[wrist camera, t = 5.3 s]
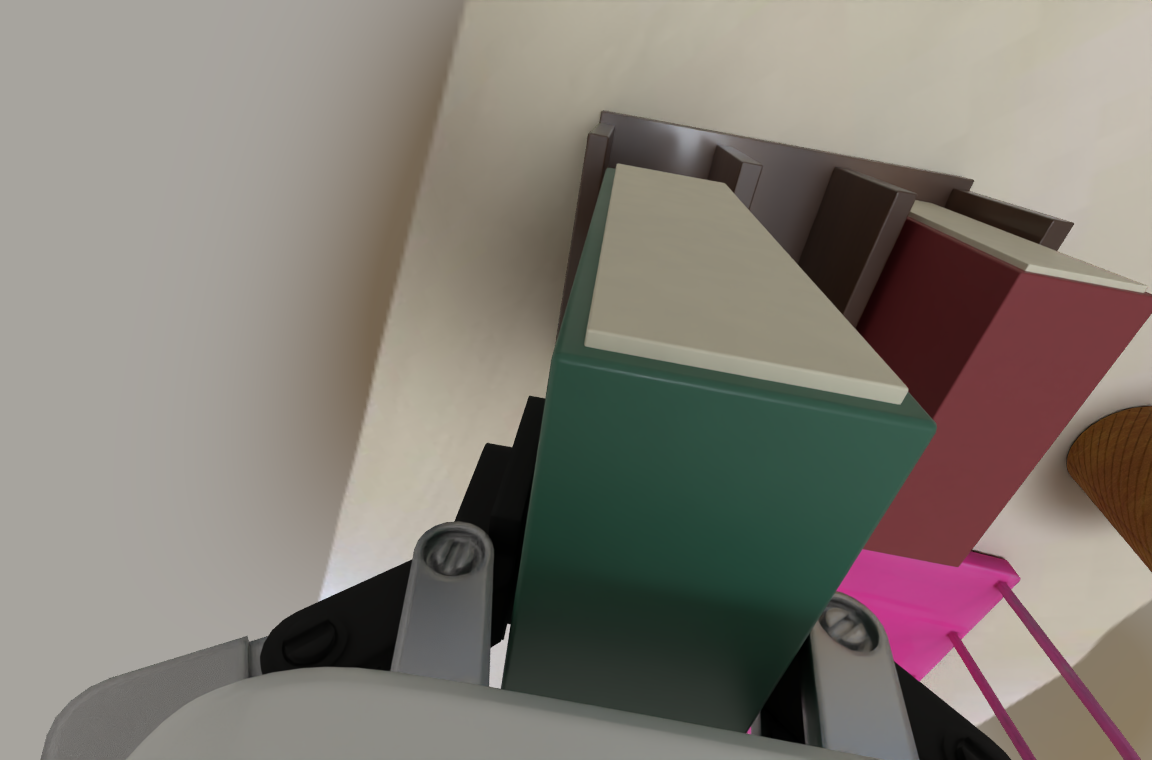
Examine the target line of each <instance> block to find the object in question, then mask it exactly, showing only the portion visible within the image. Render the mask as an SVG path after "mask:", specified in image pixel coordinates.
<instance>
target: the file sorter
mask: <svg viewBox="0 0 1152 760" xmlns="http://www.w3.org/2000/svg"><path fill="white" fill-rule="evenodd" d="M1019 581H1020V577H1019V576H1018V574H1017V573H1016V572H1015V570H1014V569H1013V568H1012V566H1011V565H1010V564H1009V562H1008V561H1007V560H1004V559H1000V558H996V557H992V556H988V555H983V554H979V553H976V552H971V551H970V553H969V554H968V555H967V557H966V558H965V559H964V561H963V562H962V563H961V565H960V566H959V567H953V566H947V565H942V564H937V563H932V562H927V561H921V560H916V559H911V558H906V557H901V556H895V555H890V554H885V553H880V552H874V551H869V550H864V549H862V551H861V552H860V554H859V555H858V557H857V559H856V560H855V562H854V563H853V565H852V567H851V568H850V570H849V571H848V573H847V575H846V576H845V578H844V579H843V581H842V582H841V584H840V586H839V587H838V589H837V590H836V591H838V592H842V593H844V594H847V595H849V596H851V597H853V598H855V599H856V600H858V601H859V602H861V603H862V604H864V605H865V606H866V607H867V608H868V609H869V610H870V611H871V612H873V613H874V614H875V615H876V617H877V618H878V620H879V621H880V622H881V624H882V625H883V627H884V629H885V632H886V634H887V636H888V640H889V644H890V648H891V651H892V655H893V659H894V661H895V662H896V663H897V664H898V665H900V666H901V667H902V668H903V669H905V670H906V671H907V672H908V673H909V674H911V675H912V676H913V677H914V678H916V679H917V680H918V681H920V680H921V679H922V678H923V677H924V676H925V675H926V674H927V673H928V672H929V671H930V670H931V669H932V668H933V667H934V666H935V665H936V664H937V663H938V662H939V661H940V660H941V659H942V658H943V657H944V656H945V655H946V654H947V653H948V652H949V651H950V650H951V649H952V648H953V647H955V649H956V650H957V652H958V654H959V655H960V657H961V658H962V660H963V662H964V663H965V665H966V667H967V668H968V670H969V672H970V673H971V675H972V677H973V679H974V680H975V682H976V684H977V685H978V687H979V688H980V690H981V691H982V693H983V695H984V696H985V698H986V700H987V701H988V703H989V705H990V706H991V708H992V709H993V711H994V713H995V715H996V716H997V718H998V720H999V721H1000V723H1001V725H1002V726H1003V728H1004V729H1005V731H1006V733H1007V734H1008V736H1009V737H1010V739H1011V740H1012V742H1013V744H1014V746H1015V747H1016V749H1017V751H1018V752H1019V754H1020V756H1021V757H1022V759H1023V760H1036V758H1035V757H1034V755H1033V754H1032V752H1031V750H1030V749H1029V747H1028V746H1027V744H1026V743H1025V741H1024V740H1023V738H1022V736H1021V734H1020V733H1019V731H1018V730H1017V728H1016V727H1015V725H1014V723H1013V722H1012V720H1011V719H1010V717H1009V716H1008V714H1007V713H1006V711H1005V709H1004V708H1003V706H1002V705H1001V703H1000V701H999V700H998V698H997V696H996V695H995V693H994V692H993V690H992V688H991V687H990V685H989V684H988V682H987V680H986V679H985V677H984V676H983V674H982V672H981V671H980V669H979V668H978V666H977V665H976V663H975V661H974V660H973V658H972V657H971V655H970V653H969V652H968V650H967V649H966V647H965V646H964V644H963V642H962V641H961V639H962V638H963V637H964V636H965V635H966V634H967V633H968V632H969V631H970V630H971V629H972V628H973V627H974V626H975V625H976V624H977V623H978V622H979V621H980V620H981V619H982V618H983V617H984V616H985V615H986V614H987V613H988V612H989V611H990V610H991V609H992V608H993V607H994V606H995V605H996V604H997V603H998V602H999V601H1000V600H1001V599H1002V598H1003V597H1004V598H1005V600H1006V601H1007V602H1008V604H1009V605H1010V606H1011V608H1012V609H1013V610H1014V611H1015V613H1016V614H1017V615H1018V617H1019V618H1020V619H1021V621H1022V622H1023V623H1024V625H1025V626H1026V628H1027V629H1028V630H1029V632H1030V633H1031V634H1032V636H1033V637H1034V638H1035V640H1036V641H1037V642H1038V644H1039V645H1040V647H1041V648H1042V649H1043V650H1044V652H1045V653H1046V654H1047V656H1048V657H1049V658H1050V660H1051V661H1052V663H1053V664H1054V665H1055V667H1056V668H1057V669H1058V671H1059V672H1060V673H1061V675H1062V676H1063V677H1064V678H1065V680H1066V681H1067V683H1068V684H1069V685H1070V687H1071V688H1072V689H1073V690H1074V692H1075V693H1076V695H1077V696H1078V697H1079V699H1080V700H1081V701H1082V703H1083V704H1084V705H1085V707H1086V708H1087V709H1088V711H1089V712H1090V713H1091V715H1092V716H1093V717H1094V719H1095V720H1096V721H1097V723H1098V724H1099V725H1100V727H1101V728H1102V730H1103V731H1104V732H1105V734H1106V735H1107V736H1108V738H1109V739H1110V741H1111V742H1112V743H1113V745H1114V746H1115V747H1116V749H1117V750H1118V752H1119V753H1120V755H1121V756H1122V757H1123V759H1124V760H1141V759H1140V757H1139V756H1138V755H1137V753H1136V752H1135V751H1134V749H1133V748H1132V747H1131V745H1130V744H1129V742H1128V741H1127V740H1126V738H1125V737H1124V736H1123V734H1122V733H1121V732H1120V730H1119V729H1118V728H1117V726H1116V725H1115V724H1114V723H1113V721H1112V720H1111V719H1110V717H1109V716H1108V715H1107V714H1106V712H1105V711H1104V710H1103V708H1102V707H1101V706H1100V705H1099V703H1098V702H1097V701H1096V699H1095V698H1094V697H1093V695H1092V694H1091V692H1090V691H1089V690H1088V689H1087V687H1086V686H1085V685H1084V683H1083V682H1082V681H1081V680H1080V678H1079V677H1078V676H1077V675H1076V673H1075V672H1074V670H1073V669H1072V668H1071V666H1070V665H1069V664H1068V663H1067V661H1066V660H1065V659H1064V658H1063V656H1062V655H1061V654H1060V652H1059V651H1058V650H1057V649H1056V647H1055V646H1054V645H1053V643H1052V642H1051V641H1050V639H1049V638H1048V637H1047V635H1046V634H1045V633H1044V631H1043V630H1042V629H1041V627H1040V626H1039V625H1038V624H1037V622H1036V621H1035V620H1034V618H1033V617H1032V616H1031V615H1030V613H1029V612H1028V611H1027V610H1026V608H1025V607H1024V606H1023V604H1022V603H1021V602H1020V601H1019V599H1018V598H1017V597H1016V595H1015V594H1014V593H1013V592H1012V590H1011V589H1012V588H1013V587H1014V586H1015V585H1016V584H1017V583H1018V582H1019ZM747 733H748V734H751V727H750V729H749V730H748V732H747Z"/></svg>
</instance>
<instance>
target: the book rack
mask: <svg viewBox="0 0 1152 760" xmlns="http://www.w3.org/2000/svg"><path fill="white" fill-rule="evenodd" d="M617 164H624V165H629V166H634V167H640V168H645V169H651V170H656V171H661V172H667V173H672V174H678V175H683V176H689V177H694V178H699V179H705V180H710V181H716V182H721V183H725V184H726V185H727V186H728V187H729V188H730V190H731V191H732V192H733V193H734V194H735V195H736V196H737V197H738V198H739V200H740V201H741V202H742V203H743V204H744V205H745V206H746V207H747V208H748V210H749V211H750V212H751V213H752V214H753V215H754V216H755V217H756V219H757V220H758V221H759V222H760V223H761V224H762V225H763V226H764V227H765V229H766V230H767V231H768V232H769V233H770V234H771V235H772V236H773V238H774V239H775V240H776V241H777V242H778V243H779V244H780V245H781V246H782V248H783V249H784V250H785V251H786V252H787V253H788V254H789V255H790V257H791V258H792V259H793V260H794V261H795V262H796V263H797V264H798V265H799V267H800V268H801V269H802V270H803V271H804V272H805V273H806V274H807V276H808V277H809V278H810V279H811V280H812V281H813V282H814V283H815V284H816V286H817V287H818V288H819V289H820V290H821V291H822V292H823V293H824V295H825V296H826V297H827V298H828V299H829V300H830V301H831V302H832V303H833V305H834V306H835V307H836V308H837V309H838V310H839V311H840V312H841V314H842V315H843V316H844V317H845V318H846V319H847V320H848V321H849V322H850V324H851V325H852V326H853V327H854V328H855V329H856V327H857V324H858V322H859V320H860V318H861V316H862V314H863V312H864V309H865V307H866V305H867V303H868V301H869V299H870V297H871V294H872V292H873V290H874V288H875V286H876V284H877V282H878V279H879V277H880V275H881V273H882V271H883V269H884V267H885V264H886V262H887V260H888V258H889V256H890V254H891V251H892V249H893V247H894V245H895V243H896V241H897V239H898V236H899V234H900V232H901V230H902V228H903V226H904V224H905V221H906V219H907V217H908V215H909V213H910V211H911V209H912V206H913V204H914V202H915V200H918V201H923V202H929V203H933V204H935V205H938V206H940V207H943V208H946V209H948V210H951V211H953V212H956V213H959V214H961V215H964V216H967V217H969V218H972V219H974V220H977V221H980V222H982V223H985V224H987V225H990V226H993V227H995V228H998V229H1000V230H1003V231H1006V232H1008V233H1011V234H1013V235H1016V236H1019V237H1021V238H1024V239H1026V240H1029V241H1032V242H1034V243H1037V244H1039V245H1042V246H1045V247H1047V248H1050V249H1052V250H1055V251H1057V250H1058V249H1059V247H1060V246H1061V244H1062V242H1063V241H1064V239H1065V238H1066V236H1067V234H1068V233H1069V231H1070V230H1071V228H1072V226H1073V225H1074V223H1073V222H1069V221H1066V220H1063V219H1059V218H1056V217H1053V216H1050V215H1046V214H1043V213H1040V212H1036V211H1033V210H1030V209H1027V208H1023V207H1020V206H1017V205H1013V204H1010V203H1007V202H1004V201H1000V200H997V199H994V198H990V197H987V196H984V195H981V194H977V193H974V192H971V191H969V190H970V188H971V186H972V184H973V182H974V180H972V179H968V178H965V177H960V176H954V175H949V174H944V173H938V172H933V171H927V170H922V169H917V168H911V167H906V166H900V165H895V164H890V163H884V162H879V161H874V160H868V159H863V158H857V157H852V156H847V155H841V154H836V153H830V152H825V151H820V150H814V149H809V148H804V147H798V146H793V145H787V144H782V143H777V142H771V141H766V140H760V139H755V138H750V137H744V136H739V135H734V134H728V133H723V132H717V131H712V130H707V129H701V128H696V127H690V126H685V125H680V124H674V123H669V122H664V121H658V120H653V119H647V118H642V117H637V116H631V115H626V114H620V113H615V112H610V111H604V110H603V111H602V112H601V117H600V123H599V124H598V125H597V126H596V127H595V128H594V129H593V130H592V131H591V132H590V133H589V134H588V138H587V144H586V151H585V157H584V163H583V170H582V176H581V183H580V189H579V195H578V202H577V208H576V215H575V221H574V227H573V234H572V240H571V247H570V253H569V259H568V266H567V272H566V279H565V285H564V291H563V298H562V304H561V311H560V317H559V323H558V330H557V336H556V341H557V338H558V334H559V331H560V327H561V324H562V320H563V317H564V314H565V310H566V307H567V303H568V300H569V296H570V293H571V289H572V286H573V282H574V279H575V275H576V272H577V268H578V265H579V261H580V258H581V254H582V251H583V248H584V244H585V241H586V237H587V234H588V230H589V227H590V223H591V220H592V216H593V213H594V209H595V206H596V202H597V199H598V195H599V192H600V188H601V185H602V181H603V178H604V175H605V171H606V169H607V168H613V169H616V165H617ZM555 345H556V343H555Z"/></svg>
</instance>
